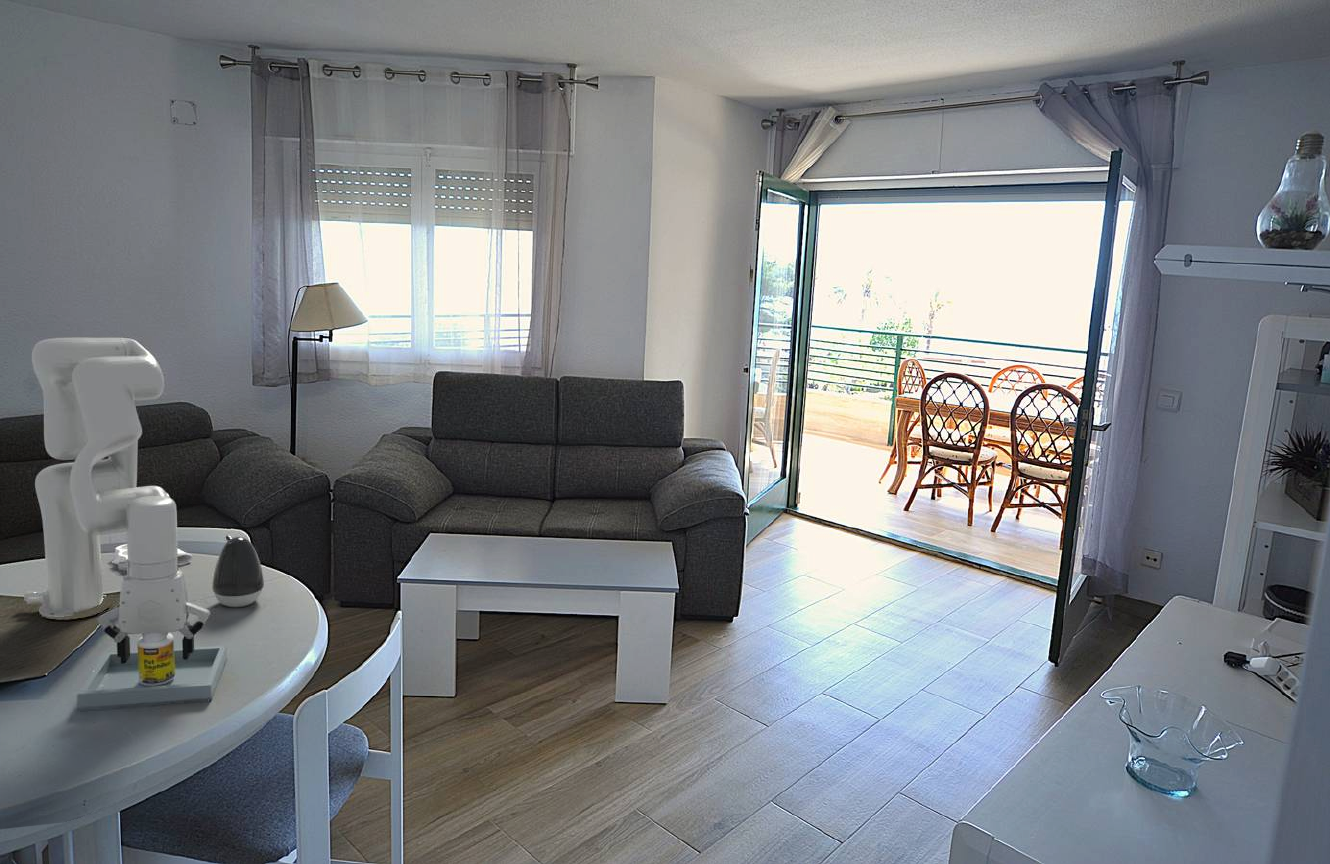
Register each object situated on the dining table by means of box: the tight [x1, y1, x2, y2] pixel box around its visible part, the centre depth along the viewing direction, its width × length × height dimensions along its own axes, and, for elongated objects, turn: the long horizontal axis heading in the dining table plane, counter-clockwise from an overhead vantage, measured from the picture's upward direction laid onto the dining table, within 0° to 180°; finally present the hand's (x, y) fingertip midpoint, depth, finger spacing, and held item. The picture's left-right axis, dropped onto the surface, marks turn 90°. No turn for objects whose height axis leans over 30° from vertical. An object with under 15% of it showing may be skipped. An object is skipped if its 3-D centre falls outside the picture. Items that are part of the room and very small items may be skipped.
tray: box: [76, 645, 228, 712], centre depth 154 cm, size 20×16×3 cm
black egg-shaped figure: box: [212, 534, 265, 608], centre depth 190 cm, size 10×10×15 cm
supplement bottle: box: [137, 632, 175, 686], centre depth 153 cm, size 6×6×10 cm
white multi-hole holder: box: [110, 543, 193, 566], centre depth 210 cm, size 3×18×15 cm
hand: (156, 658), depth 153 cm, fingers open, 9 cm apart
